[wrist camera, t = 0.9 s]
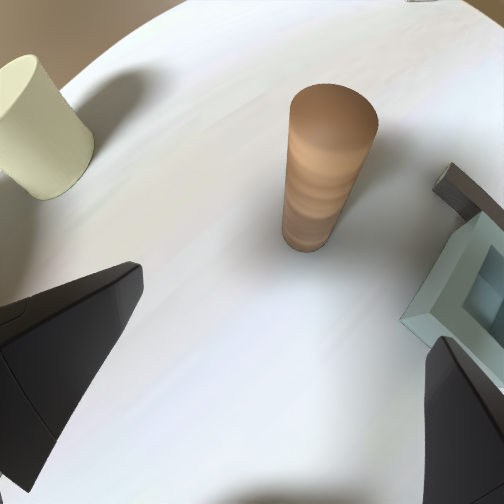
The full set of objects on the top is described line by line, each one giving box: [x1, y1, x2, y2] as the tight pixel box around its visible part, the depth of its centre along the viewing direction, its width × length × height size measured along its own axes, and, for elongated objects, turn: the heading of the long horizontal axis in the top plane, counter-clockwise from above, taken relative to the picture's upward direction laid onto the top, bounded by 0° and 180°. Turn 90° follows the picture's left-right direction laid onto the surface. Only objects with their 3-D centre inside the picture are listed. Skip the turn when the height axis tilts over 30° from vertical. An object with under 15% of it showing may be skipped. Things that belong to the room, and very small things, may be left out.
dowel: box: [282, 84, 378, 252], centre depth 18 cm, size 4×4×13 cm
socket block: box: [399, 211, 504, 388], centre depth 19 cm, size 9×9×5 cm
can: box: [0, 55, 94, 200], centre depth 22 cm, size 9×9×12 cm
